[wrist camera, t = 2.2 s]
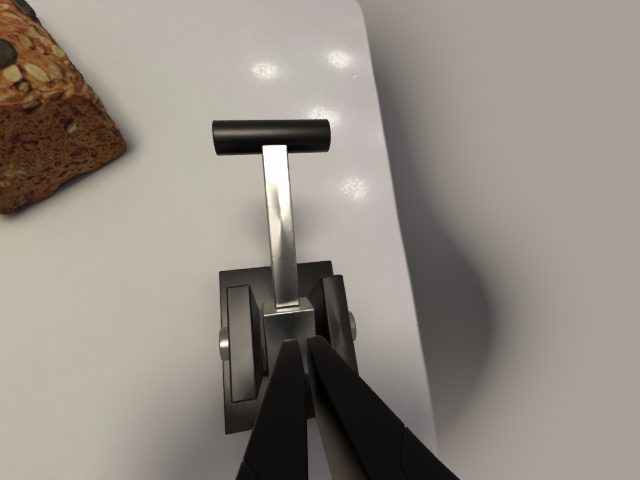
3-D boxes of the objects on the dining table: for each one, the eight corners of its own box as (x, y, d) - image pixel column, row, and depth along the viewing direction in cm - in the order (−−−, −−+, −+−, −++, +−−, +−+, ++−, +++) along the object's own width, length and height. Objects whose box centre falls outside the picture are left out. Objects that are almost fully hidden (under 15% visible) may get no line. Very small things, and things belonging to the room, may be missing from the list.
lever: (217, 130, 14) (208, 110, 12) (321, 129, 15) (332, 109, 13) (238, 362, 15) (233, 386, 12) (338, 347, 16) (351, 367, 13)
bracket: (221, 274, 22) (186, 225, 13) (328, 264, 24) (363, 213, 15) (227, 429, 19) (187, 506, 10) (349, 406, 21) (411, 455, 12)
